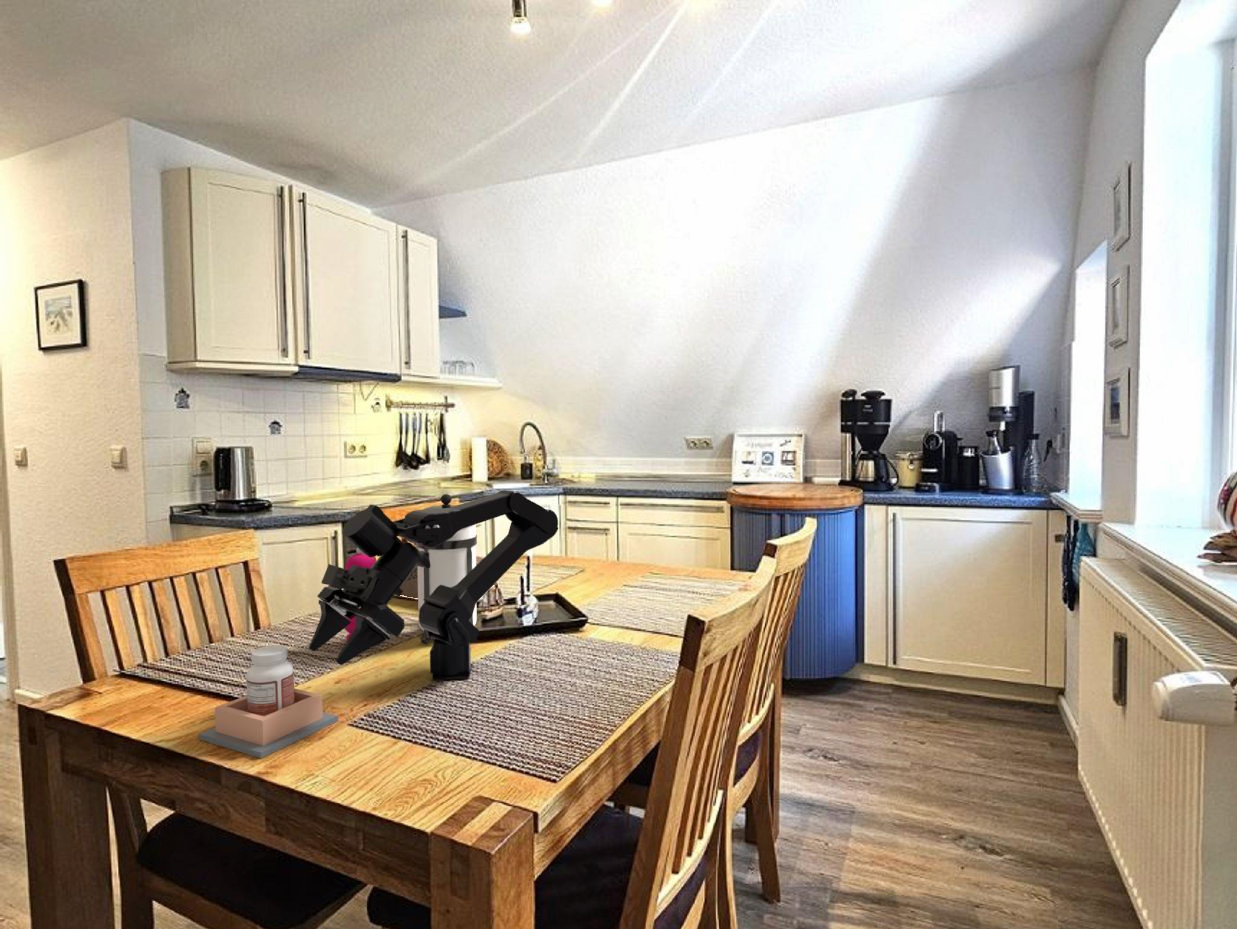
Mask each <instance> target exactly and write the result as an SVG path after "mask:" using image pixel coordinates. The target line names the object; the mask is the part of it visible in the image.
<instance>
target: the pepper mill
mask: <svg viewBox="0 0 1237 929" xmlns="http://www.w3.org/2000/svg"><path fill="white" fill-rule="evenodd" d="M355 549H356V554H353V555H351V556H350V557H348V559H347V560H346V562H345V566H344V567H345V568H344V569H347V570H348V569H349V568H350V567H351V566H353V565H355V566H358V567H362V568H365V567H367V568H371V567H372V566H373V565H374V563H375V562H376V561H377V559H375V556H374V557H368V556H367V555H365V554H364V553H363V552H362V551H361V550H360V549H358V548H357V547H356V548H355ZM345 618H346V617H345ZM347 619H348V618H347ZM348 620H349V621H350V622H351V623H350V624H349V625H348V626H347V627H345V628H344V630H345V631H346V632H347V633H348V634H347V635H346V637H345V639H346V640H345V641H346V643H347V641H348V639H349V638H350V636H351V635H352V633H353V632H354V630H355V628H356V616H355V617H354V618H352V619H348ZM346 643H345V644H346Z"/></svg>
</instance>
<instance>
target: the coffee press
mask: <svg viewBox="0 0 1237 929" xmlns="http://www.w3.org/2000/svg"><path fill="white" fill-rule="evenodd" d="M452 500H453V499H452V497H451V495H450V494H448V493H445V494H442V495H441V497H440V502H441V503H442V504H440V505H434V506H433V505H432V506H427V507H425V508H423V509H422V510H424V509H442V508H450V507H453V506H457V505H458V504H457V505H456V504H454V505H451V504H450V503H451V502H452ZM476 526H477V524H475V525H472V526H469V527H466V528H463V529H461V530H460V531H458V532H457V533H456V534H455V535H454V536H453V537H452V538H450V539H449V540H447V541H445V542H443V543H441V544H440V545H438V546H435V547H428V546H423V545H419V544H415V547H416V548H417V549H418V550H419V551H425V552H428V553H429V561H430V568H424V567H420V566H418V601H417V605H418V606H417V608H418V609H417V612H418V613H417V614H418V617H417V618H418V620H419V610H420V608H421V606H422V605H423V604H424V603H425V602H426V601H424V600H423V599H424V598H427V597H428V596H430V595H431V594H432V593H433V592H434V590H435V589H436V588H437V587H438V586H439V585H444V586H447V587H453V586H455V585H457V584H458V583H459V582H460V581H461V580H462V579H463V578H464V577H465V576H466V575H467V574H468V573H469V572H470V571H471V570H472V569H473V568H474V567H475V566H476V556H477V544H478V536H477V530H476V528H477V527H476ZM469 622H470V623H472V624H473V625H474V626H475V625H476V623H477V603H476V604H475V608H474V611H473V615H472V618H471V619H470V621H469ZM418 627H419V629H420V631H421V630H422V634H421V636H420V643H421V644H427V645H428V644H430V642H431V641H432V639H433V638H429V637H428V635H427V633H426V630H425V629H424V628H422V627H421V625H420V623H419V622H418Z"/></svg>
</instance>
